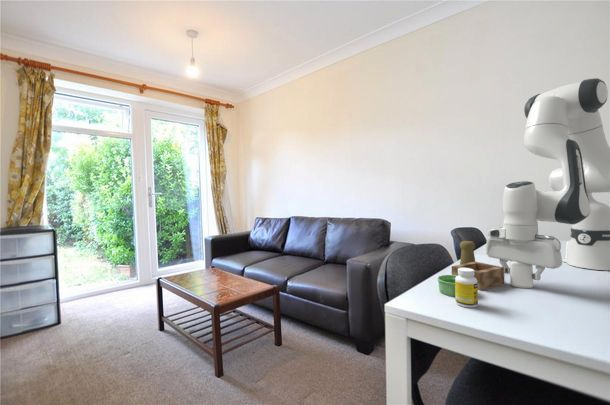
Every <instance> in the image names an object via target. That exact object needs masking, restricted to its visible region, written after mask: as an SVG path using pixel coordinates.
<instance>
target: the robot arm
mask: <svg viewBox="0 0 610 405" xmlns="http://www.w3.org/2000/svg"><path fill="white" fill-rule="evenodd" d="M608 92H609V90H608V87H607V84H606V83H605V81H604V80H602V79H600V78H596V77H595V78H588V79H587V78H586V79H583V80H582V81H577V82H573V83H569V84H565V85H560V86H558V87H556V88H552V89H550V90H547V91H545V92H543V93H538V94H536V95H534V96H532V97H530V98H528V100H527V101H526V103H525V104H524V116H525V118H526V122H525V128H524V134H523V143H524V144H523V145H524V147H525V148H526V150H527V151H529V153H531V154H534V155H536V156H539V157H542V158H547V159H552V160H556V161H558V162H559V163H560V166H561V167H558V168H554V169H553V170H552V171H551V172H550V174H549V176H548V184H549V188H551V189H552V191H551V190H549V191H548V190H547V191H542V190H541V191H540V190H537V189H536V186H535V183H534V182H532V181H525V180H524V181H515V182H511V183H508V184H507V185H505V186H504V189H503V194H502V211H503V216H504V218H503V222H502V227H501V226H500V227H498V228H493V229H490V230H489V229H488V231H487V236H488V237H487V239H486V243H485V244H486V245H485V251H486V255H487V256H488V258H491V259H497V260H499V264H500V265H501V267H504V274H508V275H510V266H509V265H508V264H507V263H508V262H511V261H514V262H519V263H524V264H530V265H532V266H535V270H536V272H533V274H532V279H533V281H541V275H542V274H543V272H544V271H545V269H546V268H547V269H550V270H551V269H552V270H554V269H558V268H561V267H562V265H563V262H564V263H566V264H568V265H570V266H573V267H577V268H583V269H587V270H596V271H610V206H609V205H608V204H605V203H603V202H600V201H598V200H596V199H595V198H594V196H593V194H594V193H610V145H609V143H608V141H607V138H606V135H605V130H604V125H603V122H602V117H601V114H600V112H599V109H601V108H602V107H603V106H604V105H605V104H606V103H607V100H608V95H609V93H608ZM584 163H585V164H584ZM592 193H593V194H592ZM539 222H549V223H559V224H567V225H571V228H570V231H569V233H570V237H571V239H569V240H568V241H566V248H565V257H562V253H561V249H562V245H561V244H562V243H561V241H560V240H559V239H558V238H557V237H555V236H552V235H544V234H539Z"/></svg>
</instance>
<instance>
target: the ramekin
mask: <svg viewBox="0 0 610 405" xmlns="http://www.w3.org/2000/svg"><path fill="white" fill-rule="evenodd" d="M456 276H457V275H452V274H443V275H438V277H437V278H436V279H437V282H438V289H439V292H440V294H442V295H445V296H448V297H453V298H456V297H455V278H456Z"/></svg>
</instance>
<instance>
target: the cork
mask: <svg viewBox="0 0 610 405" xmlns="http://www.w3.org/2000/svg"><path fill="white" fill-rule="evenodd" d="M459 248H460V249H461V252H460V261H459V265H460V264H465V263H470V262H476V257H475V252H474V250H475V248H476V244H475V242H474V241H471V240H463V241H460V243H459Z"/></svg>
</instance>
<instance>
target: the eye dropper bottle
mask: <svg viewBox="0 0 610 405" xmlns="http://www.w3.org/2000/svg"><path fill="white" fill-rule="evenodd" d="M509 262H510V263H509V268H510V274H509V277H510V278H509V280H510V285H511V286H512V287H515V288H520V289H521V288H522V289H532V288H533V287H534V280H533V279H532V274H533V273H534V272H533V270H534V269H533V265H530V264H524V263H519V262H514V261H509Z"/></svg>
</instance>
